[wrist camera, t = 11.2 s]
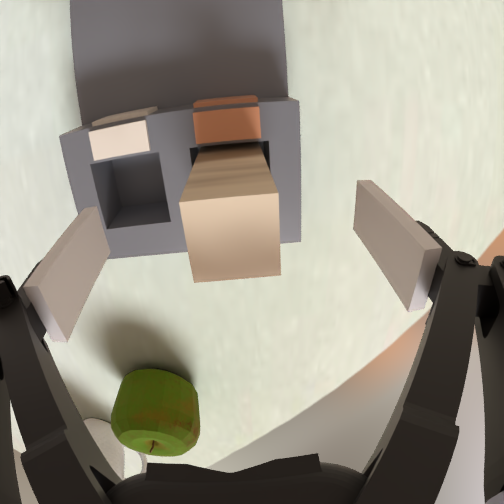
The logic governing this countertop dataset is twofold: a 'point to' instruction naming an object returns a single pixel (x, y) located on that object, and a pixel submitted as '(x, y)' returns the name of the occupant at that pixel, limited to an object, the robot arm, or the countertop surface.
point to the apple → (156, 413)
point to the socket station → (175, 110)
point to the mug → (110, 445)
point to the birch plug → (231, 214)
